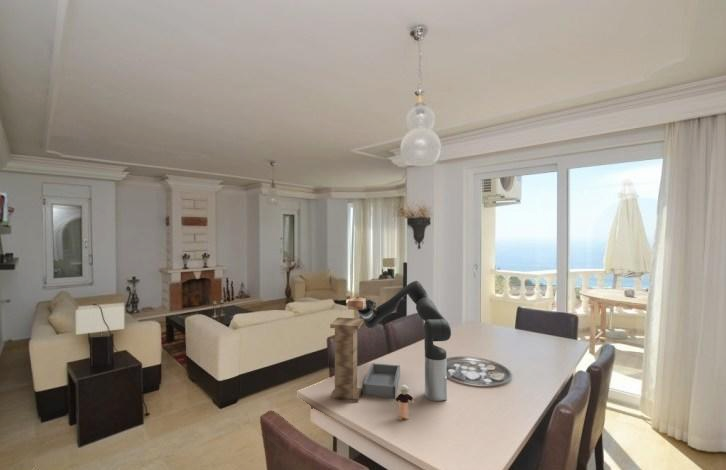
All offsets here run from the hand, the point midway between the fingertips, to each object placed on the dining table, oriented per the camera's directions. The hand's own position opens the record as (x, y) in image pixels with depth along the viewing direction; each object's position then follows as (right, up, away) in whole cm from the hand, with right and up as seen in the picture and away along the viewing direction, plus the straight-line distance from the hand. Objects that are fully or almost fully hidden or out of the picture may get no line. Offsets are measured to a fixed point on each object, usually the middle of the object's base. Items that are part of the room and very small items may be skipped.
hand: (360, 299), depth 165 cm
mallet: (0, -3, -3) cm, 4 cm away
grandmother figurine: (+17, -39, -37) cm, 56 cm away
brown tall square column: (-6, -38, -18) cm, 43 cm away
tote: (+11, -38, -9) cm, 41 cm away
